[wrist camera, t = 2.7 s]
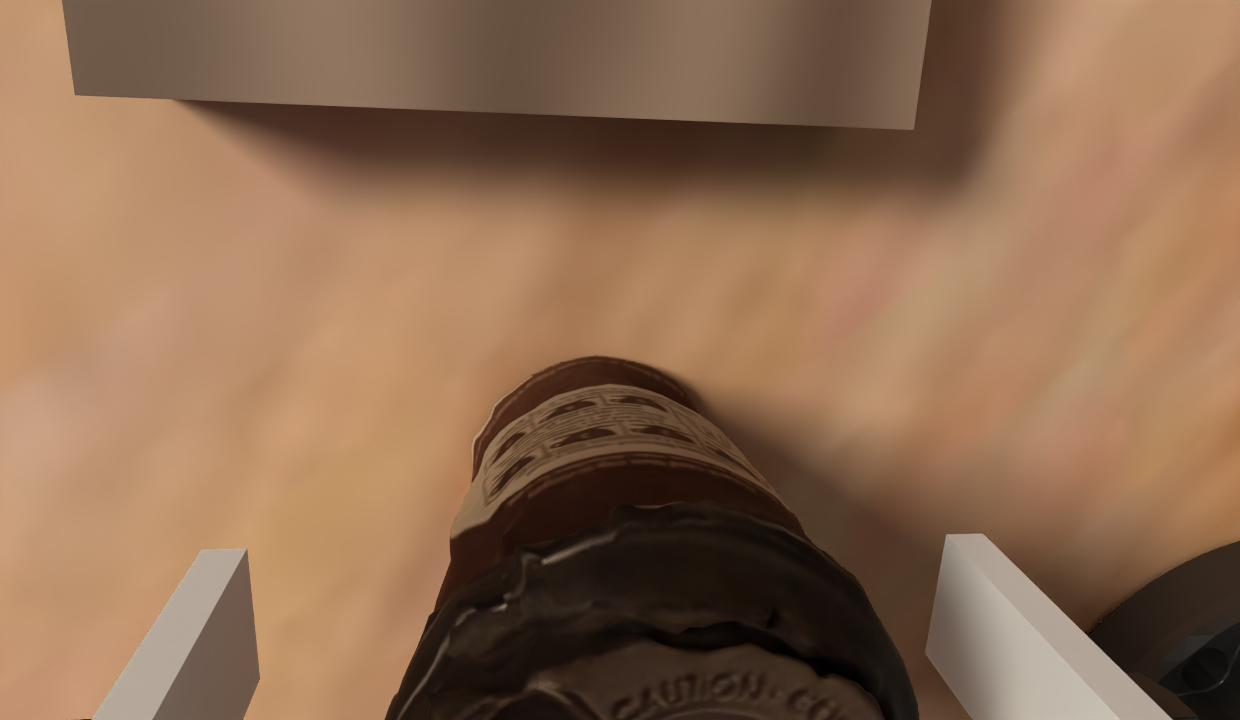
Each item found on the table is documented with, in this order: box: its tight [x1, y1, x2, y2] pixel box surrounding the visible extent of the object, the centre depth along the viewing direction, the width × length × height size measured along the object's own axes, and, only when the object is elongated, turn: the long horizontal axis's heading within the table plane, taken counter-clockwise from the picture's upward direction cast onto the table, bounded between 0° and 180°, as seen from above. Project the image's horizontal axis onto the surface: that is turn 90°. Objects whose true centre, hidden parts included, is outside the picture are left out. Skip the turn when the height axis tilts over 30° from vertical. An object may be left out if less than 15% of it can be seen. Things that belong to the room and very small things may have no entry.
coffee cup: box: [385, 355, 919, 720], centre depth 17 cm, size 9×8×13 cm
